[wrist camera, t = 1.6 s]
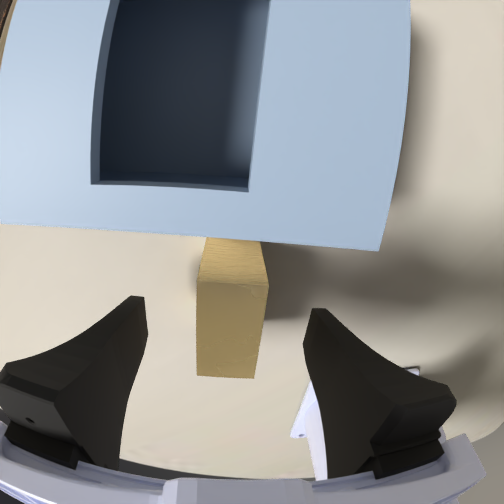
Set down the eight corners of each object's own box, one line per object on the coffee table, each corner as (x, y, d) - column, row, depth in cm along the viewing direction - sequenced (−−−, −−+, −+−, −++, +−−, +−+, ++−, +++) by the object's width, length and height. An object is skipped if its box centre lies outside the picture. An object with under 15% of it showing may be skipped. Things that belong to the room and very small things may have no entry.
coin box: (342, 9, 10) (405, -47, 4) (320, 197, 14) (378, 251, 8) (101, -1, 9) (37, -49, 3) (82, 182, 13) (0, 224, 7)
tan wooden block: (259, 239, 15) (269, 285, 11) (249, 320, 17) (253, 378, 13) (206, 235, 15) (196, 280, 10) (203, 317, 17) (196, 375, 12)
